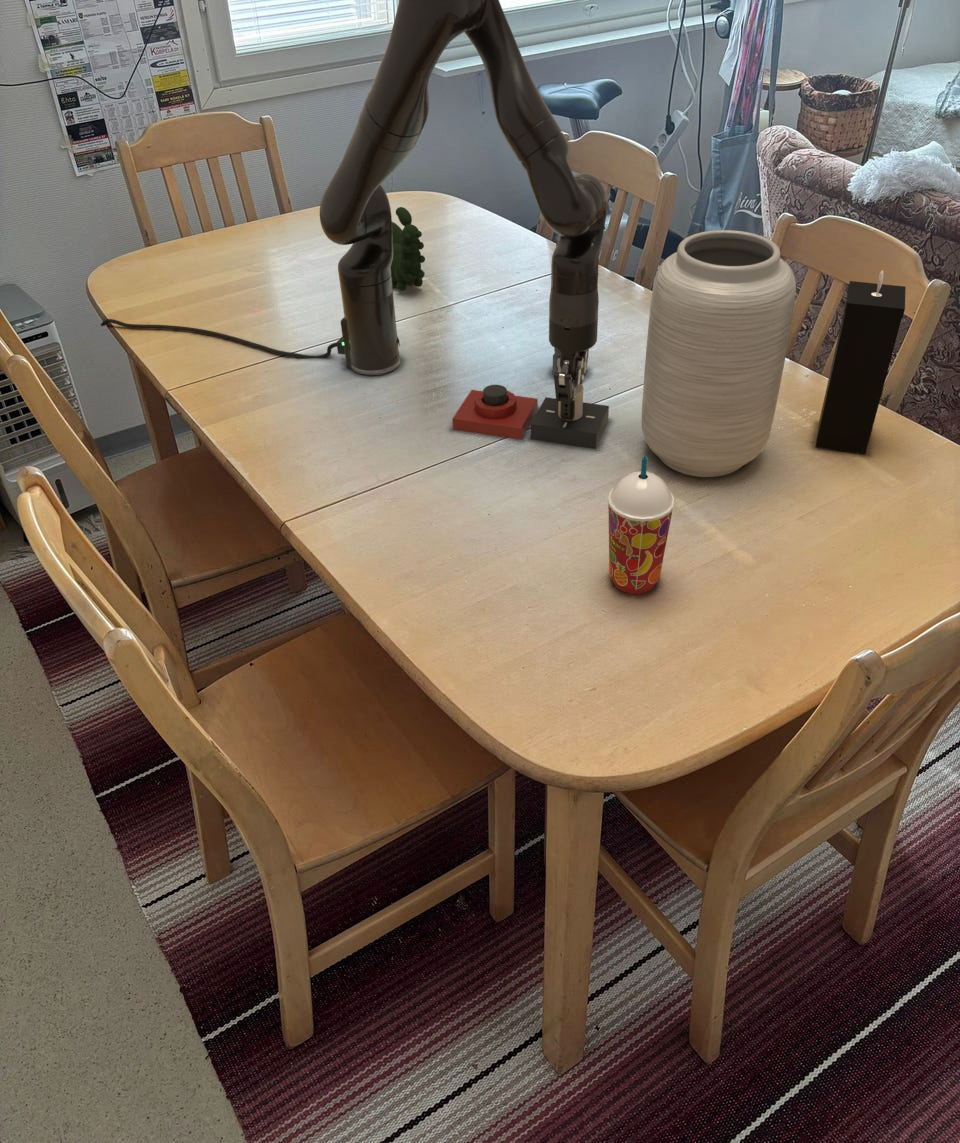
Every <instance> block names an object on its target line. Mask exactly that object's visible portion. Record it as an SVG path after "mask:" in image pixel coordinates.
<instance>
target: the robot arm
mask: <svg viewBox="0 0 960 1143" xmlns="http://www.w3.org/2000/svg"><path fill="white" fill-rule="evenodd" d="M504 12H505V11H504V9H503V7H502V5H501V1H500V0H399V2H398V5H397V8H396V13H395V16H394V20H393V25H392V28H391V33H390V36H389V38H388V43H387V46H386V49H385V52H384V55H383V56H382V59H381V61H380V64H379V66H378V69H377V71H376V74H375V77H374V79H373V82H372V85H371V87H370V89H369V91H368V94H367V95H366V98H365V101H364V103H363V105H362V107H361V108H362V109H361V111H360V114H359V116H358V120H357V123H356V125H355V128H354V131H353V133H352V136H351V138H350V140H349V143H348V144H347V147H346V149H345V152H344V155H343V157H342V159H341V162H340V164H339V165H338V167H337V170H336V171H335V173H334V174H333V177H332V178H331V180H330V182H329V183H328V185H327V187H326V189H325V191H324V192H323V195H322V196H321V201H320V205H319V222H320V226H321V229H322V231H323V233H324V235H325V236H326V238H327V239H328V240H329V241H331V242H332V243H333V244H336V245H340V246H348V245H351V246H350V247H349V249H348V250H347V251H346V252H345V253H344V254H343V256H341V258H340V259H339V260H338V263H337V273H338V279H339V281H338V282H339V287H340V295H341V302H342V310H343V317H342V318H341V320H340V329H341V336H340V338H339V339H338V340H337V341H336V342H333V343H331V344H329V345H328V346H327V348H326V352H325V353H323V354H319V355H310V354H309V355H307V354H303V353H297V352H292V351H285V350H279V349H276V348H272V347H270V346H269V347H268V346H265V345H263V344H259V343H257V342H253V341H249V340H246V339H243V338H239V337H236V336H232V335H229V334H226V333H221V332H218V331H213V330H208V329H204V328H203V329H202V328H197V327H189V326H181V325H168V324H137V323H136V324H135V323H127V322H124V321H120V320H117V319H114V318H106V319H104V320H103V321H102V322H101V323H100V327H104V326H106V325H107V324H115V325H118V326H120V327H123V328H128V329H129V328H130V329H157V330H158V329H159V330H174V331H184V332H185V331H186V332H192V333H198V334H204V335H210V336H214V337H218V338H222V339H226V340H229V341H234V342H237V343H240V344H242V345H246V346H249V347H253V348H255V349H259V350H263V351H266V352H268V353H269V352H270V353H272V354H275V355H280V356H285V357H293V358H298V359H302V360H303V359H307V360H308V359H310V360H311V359H327V358H328V357H330V356H331V355H332V349H334V348H336V349H337V354H338V355H344V358H345V364H346V365H345V366H346V369H350V370H352V371H353V372H354V373H356V374H359V375H364V376H380V375H385V374H388V373H390V372H392V371H395V370H396V369H397V368H398V367H399V366H400V365H401V356H400V349H399V348H400V346H401V345H400V339H399V336H398V330H397V319H396V308H395V299H394V298H395V297H394V290H393V289H394V288H392V278H391V264H392V260H393V238H392V222H393V217H392V210H391V205H390V204H391V203H390V199H389V198H388V195H387V193H386V191H385V188H384V187H383V185H382V184H383V183H384V182H385V181H386V180H387V179H388V178H389V177H390V176H391V175H392V174H393V173H395V171H396V170H397V169H398V168H399V167H400V166H401V165H402V164H403V163H404V162H405V161H406V160H407V158H408V157H409V156H410V154H411V153H412V152H413V149H414V148H415V146H416V144H417V143H418V139H420V136H421V134H422V132H423V129H424V127H425V126H426V122H427V119H428V116H429V111H430V93H429V81H430V78H431V75H432V73H433V71H434V69H435V67H436V65H437V63H438V61H439V59H440V58H441V55H442V54H443V53H444V51H445V49H446V48H447V46H448V45H449V44H450V43H451V42H453V40H455V39H456V38H457V37H458V36H460V35H462V34H465V36H466V37H467V38H468V39H469V41H470V42H471V44H472V45H473V46H474V48H475V50H476V52H477V53H478V55H479V57H480V60H481V61H482V64H483V66H484V69H485V73H486V77H487V80H488V83H489V84H488V85H489V90H490V96H491V101H492V106H493V112H494V115H495V119H496V120H497V124H498V127H499V129H500V131H501V133H502V135H503V137H504V139H505V141H506V142H507V144H508V145H509V147H510V149H511V151H512V152H513V154H514V155H515V157H516V159H517V160H518V162H519V164H520V165H521V167H522V168H523V170H524V172H525V174H526V175H527V178H528V182H529V185H530V188H531V191H532V193H533V196H534V199H535V201H536V204H537V207H538V209H539V212H540V214H541V216H542V218H543V220H544V221H545V223H546V224H547V226H548V227H549V228H550V229H551V230H552V231H553V232H554V233H555V234H557V236H558V235H560V238H559V242H558V244H557V246H556V245H555V248H554V250H553V253H552V255H551V264H550V270H551V271H550V292H549V298H548V299H549V300H548V342H549V344H550V345H551V346H552V347H553V349H554V348H556V349H558V350H559V351H560V352H561V355H559V356H558V360H557V366H558V372H555V374H554V375H553V384H554V392H555V394H554V395H555V399H556V401H561V412H560V417H561V418H562V419H565V420H573V419H574V416H575V398H576V396H575V395H576V387H577V386H578V385H579V384H581V385H582V386H583V385H584V382H585V376H586V375H587V373H588V361H589V352H590V349H592V348H593V347H594V346H595V345H596V344H597V341H598V326H599V305H600V304H599V303H600V300H599V299H600V298H599V297H600V296H599V288H598V287H599V256H600V251H601V245H602V241H603V237H604V232H605V227H606V220H607V215H608V214H607V213H608V197H607V192H606V189H605V186H604V185H603V183H602V182H601V181H600V179H598V178H597V177H596V176H595V175H593V174H591V173H586V172H582V173H576V174H575V175H574V174H573V172H572V171H573V170H572V169H571V167H570V164H569V161H568V158H569V155H570V152H571V150H570V144H569V141H568V140H567V137H566V136H565V134H564V132H563V131H562V129H561V127H560V126H559V124H558V122H557V121H556V119H555V117H554V116H553V114H552V112H551V110H550V109H549V107H548V106H547V104H546V102H545V100H544V99H543V97H542V95H541V93H540V91H539V90H538V88H537V85H536V84H535V82H534V80H533V78H532V76H531V73H530V72H529V69H528V66H527V64H526V62H525V60H524V58H523V55H522V53H521V50H520V47H519V46H518V43H517V41H516V38H515V36H514V34H513V31H512V29H511V27H510V25H509V24H510V23H509V21H508V19H507V17H506V15H505V13H504ZM584 375H585V376H584Z"/></svg>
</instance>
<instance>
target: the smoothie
mask: <svg viewBox="0 0 960 1143" xmlns="http://www.w3.org/2000/svg"><path fill="white" fill-rule="evenodd" d="M640 466H641V468H640V470H638V471H634V472H633V471H632V472H630V473H628V474H626V475H625V476H623V477H621V478H620V479H619V481H618V482H617V483H616V484H615V486H614V487H613V488H612V489H611V490H610V491H609V493H608V496H607V502H608V504H607V505H608V507H607V508H608V510H607V511H608V562H609V563H608V574H609V577H610V579H611V580H612V582H613V585H614V586H615V587H616V588H617V589H618V590H620V591H621V592H624V593H627V594H631V595H638V594H639V595H641V594H644V593H647V592H649V591H651V590H652V589H653V588H654V586H655V585H656V584H657V583H658V582H659V580H660V577H661V572H662V568H663V562H664V556H665V551H666V546H667V541H668V537H669V532H670V531H669V530H670V526H671V520H672V515H673V509H674V507H675V501H676V500H675V498H674V495H673V493H672V492H671V491H670V488H669V487H668V484H667V483H666V481H664V480H663V479H662V477H660V476H659V475H657V474H656V473H653V472H651V471H647V468H648V456H642V457H641V465H640Z"/></svg>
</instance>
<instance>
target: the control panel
mask: <svg viewBox="0 0 960 1143" xmlns="http://www.w3.org/2000/svg"><path fill="white" fill-rule="evenodd" d="M609 412H610V405H606V404H598V403H591V402H584V401H583V414H582V417H581V418H580V419H578V420H574V421H567V420H563V419H561V418H560V417H559V416H558V401H556V397H547V396H545V398H544V399H543V400H542V403H541V405H540V406H539V407H538V410H537V412H536V414H535V415H534V417H533V419H532V421H531V423H530V440H532V441H539V442H545V443H552V444H559V445H565V446H566V445H567V446H571V447H572V446H573V447H579V448H585V449H586V448H587V449H591V450H592V449H594V450H596V449H597V447H598V446H599V443H600V440H601V438H602V436H603V434H604V432H605V429H606V427H607V425H608V423H609V415H610V414H609Z"/></svg>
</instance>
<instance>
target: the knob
mask: <svg viewBox="0 0 960 1143" xmlns="http://www.w3.org/2000/svg"><path fill="white" fill-rule="evenodd" d="M575 396H576V398H575V416H574V419H573V420H567V421H574V420H578V419H580V418H581V417H582V414H583V402H584V386H583V384H582V385H581V384H579V385H578V386H577V387H576V395H575ZM560 412H561V401H558V416H559V417H560ZM560 418H561V417H560ZM561 419H562V418H561ZM563 420H565V419H563Z"/></svg>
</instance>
